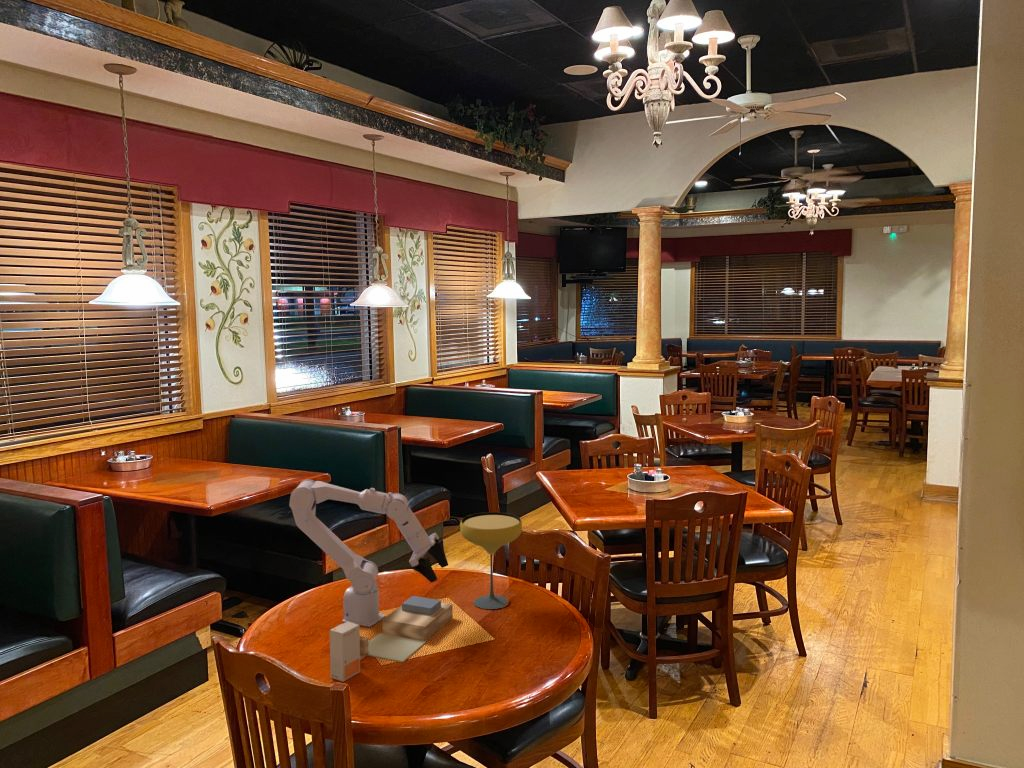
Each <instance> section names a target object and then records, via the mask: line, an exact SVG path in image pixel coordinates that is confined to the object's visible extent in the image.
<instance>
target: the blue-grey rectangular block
mask: <svg viewBox="0 0 1024 768" xmlns="http://www.w3.org/2000/svg"><path fill="white" fill-rule="evenodd" d="M441 603H442V600H441V599H435V598H430V597H422V596H418V595H417V596H416V595H412V596H411V597H409V598H408V599H406V600H405V601H403V602H402V603H401V605H402V611H407V612H413V613H420V614H426V615H432V614H433V613H435V612H436V611H437V610H438V609H440V608H441Z"/></svg>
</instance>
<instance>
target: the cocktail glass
mask: <svg viewBox="0 0 1024 768" xmlns="http://www.w3.org/2000/svg"><path fill="white" fill-rule="evenodd" d="M522 529H523V524H522V519H521V518H520V517H519V516H517V515H515V514H512V513H507V512H506V513H505V512H498V511H497V512H496V511H495V512H494V511H490V512H488V511H487V512H479V513H472V514H469V515H466V516H464V517H463V518H462V519H461V520H460V526H459V530H460V534H461V536H462V537H463V538H464V539H465V540H466V541H467V542H470V543H471V544H474V545H477V546H479V547H481V548H483V549H484V550H485V551H486V553H487V554H488V555H489V556H490V559H489V561H490V562H489V563H490V582H489V583H490V586H489V587H490V588H489V594H487V595H486V594H485V595H486V596H485V595H481V596H482V597H481V596H478V597H479V598H478V597H476V598H477V599H476V598H475V599H474V600H473V605H474V606H475V607H476V606H477V608H478V607H480V608H479V609H481V608H484V609H483V610H485V609H497V608H502V607H504V606H505V605H506V604H507V602H508V600H506V598H504V597H505V596H504V595H500V596H499V594H495V592H494V580H493V579H494V578H493V577H494V575H493V574H494V572H493V571H494V570H493V564H494V563H493V555H494V554H495V553H497V551H498V549H500V548H501V547H504V546H505V545H508V544H510V543H512V542H513V541H515V540H516V539H518V538H519V536H520V535H521V533H522ZM503 596H504V597H503ZM502 609H503V608H502ZM497 610H498V609H497Z"/></svg>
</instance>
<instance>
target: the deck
mask: <svg viewBox="0 0 1024 768" xmlns="http://www.w3.org/2000/svg"><path fill="white" fill-rule="evenodd" d="M453 614H454V613H453V604H452V603H447V602H441V608H440V609H438V610H437V611H436V612H435V613H433V614H432V615H426V614H420V613H413V612H407V611H402V604H401V605H400V606H399V607H397V608H396V609H395V610H393V611H392V612H390V613H389V614H387V615H385V617H384V618H382V619H381V620H382V633H383V634H388V635H394V636H399V637H405V638H411V639H416V640H422V641H426V642H427V641H428V639H430V638H431V637H432V636H433V635H435V633H437V632H438V631H439V630H440V629H442V628H443V627H444V626H445V625H446V624H447V623H449V622H450V621H451V620H452V619H453Z"/></svg>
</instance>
